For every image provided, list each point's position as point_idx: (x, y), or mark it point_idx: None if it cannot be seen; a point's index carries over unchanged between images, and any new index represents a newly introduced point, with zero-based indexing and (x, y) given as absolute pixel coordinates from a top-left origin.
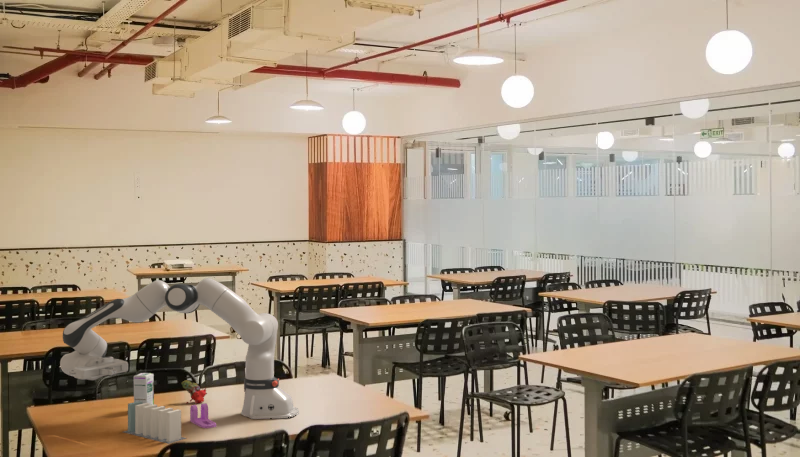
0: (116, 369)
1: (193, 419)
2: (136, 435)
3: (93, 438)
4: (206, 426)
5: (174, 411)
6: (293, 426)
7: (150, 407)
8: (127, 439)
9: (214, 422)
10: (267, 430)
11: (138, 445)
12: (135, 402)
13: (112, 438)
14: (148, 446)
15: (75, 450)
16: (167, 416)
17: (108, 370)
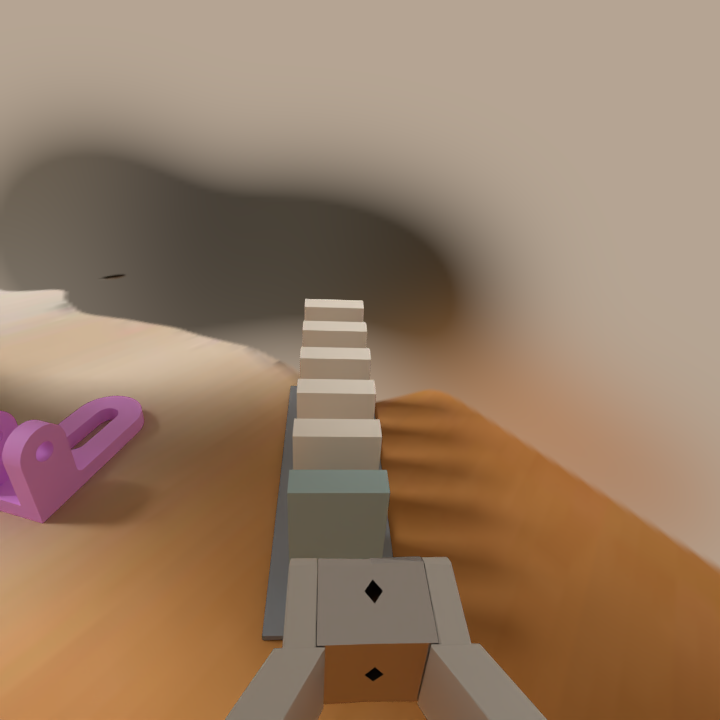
0: (306, 561)
1: (70, 473)
2: (387, 522)
3: (585, 675)
4: (140, 406)
5: (336, 300)
6: (27, 301)
7: (343, 383)
8: (441, 522)
9: (76, 411)
10: (93, 317)
11: (447, 441)
12: (333, 483)
13: (491, 588)
14: (426, 415)
15: (701, 557)
16: (362, 320)
17: (465, 625)
